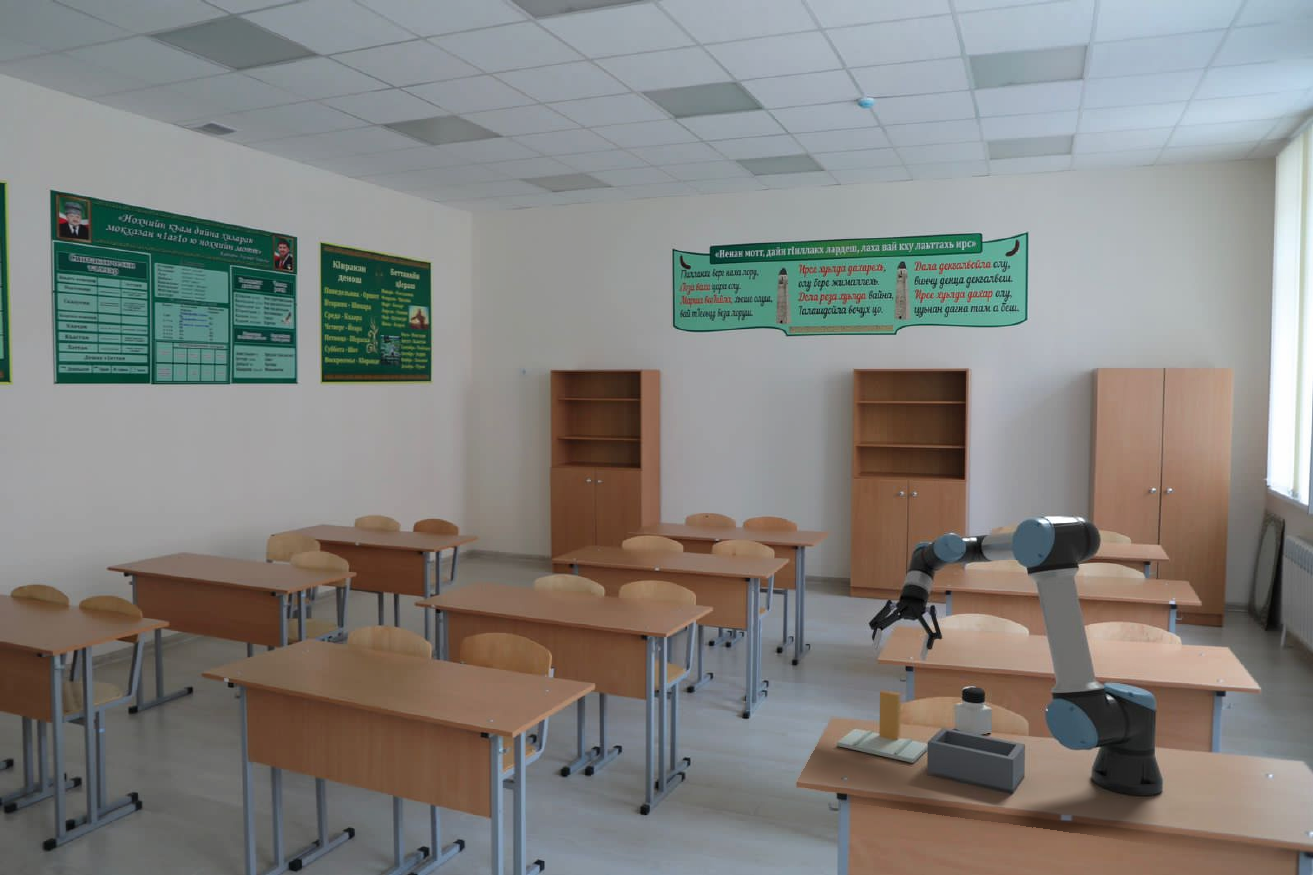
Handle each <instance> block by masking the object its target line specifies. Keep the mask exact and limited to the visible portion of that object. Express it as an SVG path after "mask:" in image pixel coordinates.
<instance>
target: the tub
mask: <svg viewBox="0 0 1313 875" xmlns="http://www.w3.org/2000/svg"><path fill="white" fill-rule="evenodd" d="M927 744H928V749H927V750H926V751H927V752H926V754H927V756H926V757H927V760H926V761H927V763H926V766H927V767H926V774H927V775H930V776H933V777H936V778H937V777H938V778H942V779H946V780H950V781H951V780H952V781H954V782H955V781H956V782H960V783H964V784H968V785H972V786H977V787H981V788H985V789H990V790H994V791H999V792H1003V793H1007V794H1012V795H1013V794H1014V793H1015V791H1016V790H1017V789H1018V787H1019V786H1020V784H1021V783H1022V781H1023V780H1024V779H1025V772H1026V771H1025V769H1026V766H1025V763H1026V761H1025V760H1026V744H1025V743H1021V742H1016V741H1010V740H1006V739H1000V738H996V737H991V736H986V735H976V734H971V733H966V732H961V731H959V730H956V729H951V728H950V729H949V728H946V727H942V728H941V729H940V730H938V731H937V732H936V733H935V734H934V735H933V736H932V737H931V738H930V739H929V740H928V741H927Z"/></svg>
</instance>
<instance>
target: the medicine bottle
mask: <svg viewBox="0 0 1313 875" xmlns="http://www.w3.org/2000/svg"><path fill="white" fill-rule="evenodd" d="M985 704H986V691H985V690H984V689H982V688H981V687H979V686H965V687H963V688H962V689H961V702H958V703H954V719H953V720H954V722H953V725H954V730H956V731H961V732H966V733H971V734H976V735H981V736H983V735H982V734H986V735H988V734H987V733H991V734H992V731H993V730H992V729H993V728H992V725H993V724H992V723H993V721H992V720H993V714H992V713H993V709H992V708H991V707H990V706H987V705H985Z"/></svg>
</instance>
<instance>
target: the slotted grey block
mask: <svg viewBox="0 0 1313 875" xmlns="http://www.w3.org/2000/svg"><path fill="white" fill-rule="evenodd" d="M901 695H902V693H900V692H896V691H889V690H883V689H882V690H881V691H879V733H877V732H873V730H872V729H871V730H870V729H869V730H864V729H860V728H859V729H858V728H854V729H852V730H851V731H849V732H848V733H847V734H846V735H845V736H843V737H842V738H841V739H839V740H838V741H837V742H836V746H837V747H840V748H845V749H850V750H853V751H860V752H862V753H867V754H871V755H876V756H880V757H885V758H889V759H894V760H899V761H902V762H903V761H904V762H907V763H911V764H913V763H914V764H915V763H916V761H917V760H918V759H919V758H920V757H921V756H923V754H925V752H926V751H927V749H928V743H926V742H921V741H918V740H917V741H916V740H913V738H908V739H906V738H902V737H901V704H902V703H901V700H902V698H901V697H902V696H901Z"/></svg>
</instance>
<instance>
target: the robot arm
mask: <svg viewBox="0 0 1313 875" xmlns="http://www.w3.org/2000/svg"><path fill="white" fill-rule="evenodd" d="M1100 534H1101V533H1100V531H1099V529H1098V527H1097V526H1096V525H1095V524H1094V523H1093V522H1092V521H1091V520H1089V519H1087V518H1085V517H1082V516H1078V515H1066V516H1040V517H1039V516H1038V517H1033V518H1028V519H1025V520H1023V521H1022V522H1020V523H1019V524H1018V526H1016V528H1015V531H1009V532H1000V533H993V534H982V535H973V536H972V535H971V536H961V535H958V534H956V533H954V532H948V533H946V534H943V535H941V536H939V537H938V538H937V539H935V540H934V541H932V542H928V541H924V542H922V541H921V542H918V543H917V544H915V546H914V550H913V551H912V553H911V556H910V557H911V558H910V562H909V566H908V569H907V572H906V575H905V579H904V582H903V586H902V589H901V593H900V596H899V600H898V601H897V602H892V600H891V599H888V600H887V601H886V603H885V605H884V607H883V608H882V609H881V610H880V611H878V613H877V614H876V615H875V616H874V617H873V618H872V619H871V620H870V621H869V622H868V625H869V627H870V630H871V631H873V632H872V635H871V639H872V641H873V642H872V646H871V650H872V651H873V652H872V653H873V654H877V653H878V650H879V646H880V643H881V641H882V637H883V632H882V631H884V630H885V629H887V628H888V627H889V626H892V625H893V624H894V623H896V622H897V621H900V620H902V619H903V620H908V621H909V620H910V621H914V622H915V621H917V620H918V622H919V624H920V625H921V626H922V628H923V629H924V631H925V633H926V634H925V637H924V640H923V645H922V649H921V651H920V658H921V661H923V662H926V661H927V655H928V653H929V650H933V646H934V643H935V640H942V639H943V634H942V632H941V628H940V626H939V621H938V618H937V613H938V611H937V608H936V606H935V604H931V605H930V606H927V604H928V601H929V597H930V593H931V590H932V587H933V586H932V585H933V582H934V578H935V576H936V572H938V571H940V570H942V569H943V568H946V567H947V566H949V565H958V564H960V565H961V564H970V563H988V562H989V563H990V562H991V563H992V562H994V561H995V562H997V561H1009V560H1010V561H1012V560H1016V561H1017V562H1018V564H1019V565H1021V566H1023V567H1025V568H1026V572H1027V573H1026V574H1027V575H1028V577H1029V578H1030V579H1032V580H1034V581H1035V584H1036V588H1037V593H1038V598H1039V602H1040V603H1039V604H1040V606H1041V612H1042V618H1043V623H1044V627H1045V632H1046V638H1047V642H1048V646H1049V648H1048V649H1049V652H1050V657H1051V663H1052V667H1053V673H1054V677H1055V682H1056V683H1055V685H1054V686H1053V687H1052V689H1051V690H1050V691H1051V695H1052V700H1051V701H1050V702H1049V703H1048V704H1047V706H1046V708H1045V712H1044V713H1045V714H1044V716H1045V722H1046V726H1047V728H1048V730H1049V732H1050V734H1051V736H1052V737H1053V738H1054V739H1055V740H1056V741H1058V743H1059V744H1060V745H1061V746H1063V747H1065V748H1066V749H1069V750H1072V751H1082V750H1083V751H1091V750H1093V749H1097V748H1099V749H1098V752H1097V754H1096V755H1095V759H1094V761H1093V764H1092V766H1091V779H1092V781H1093V782H1094V783H1096V784H1097V785H1099V786H1100V787H1102V788H1104V789H1107V790H1110V791H1112V792H1116V793H1120V794H1123V795H1125V794H1126V795H1130V796H1144V797H1145V796H1155V795H1158V794H1161V793H1162V791H1163V790H1162V789H1163V787H1164V785H1163V784H1164V782H1163V781H1164V780H1163V775H1162V773H1161V770H1160V767H1159V764H1158V760H1157V758H1156V730H1157V729H1156V727H1157V725H1156V724H1157V723H1156V722H1157V721H1156V720H1157V712H1158V710H1157V703H1156V701H1157V700H1156V697H1155V695H1154V694H1153V693H1152V692H1151V691H1148V690H1146V689H1144V688H1141V687H1137V686H1134V685H1130V684H1124V683H1119V682H1104V683H1101V682H1099V681H1098V680H1097V679H1096V674H1095V669H1094V666H1093V661H1092V657H1091V651H1090V646H1089V642H1088V637H1087V633H1086V632H1087V631H1086V627H1085V623H1084V617H1083V615H1082V614H1083V613H1082V608H1081V604H1080V599H1079V595H1078V591H1077V585H1076V581H1075V576H1076V575H1077V573H1079V570H1080V567H1079V563H1083V562H1086V561H1088V560H1090V559H1092V558H1093V557H1094V556H1095V555H1096V554H1097V553H1098V552H1099V549H1100V546H1101V541H1102V539H1101V538H1102V537H1101V535H1100ZM926 613H927V614H928V615H929V616H930V618H931V622H932V624H933V627H934V631H933V630H932V629H931V627H930V625H929V624H928V622H927V621H926V620H925V618H924V616H923V615H924V614H926ZM1157 793H1158V794H1157ZM1154 794H1155V795H1154Z"/></svg>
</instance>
